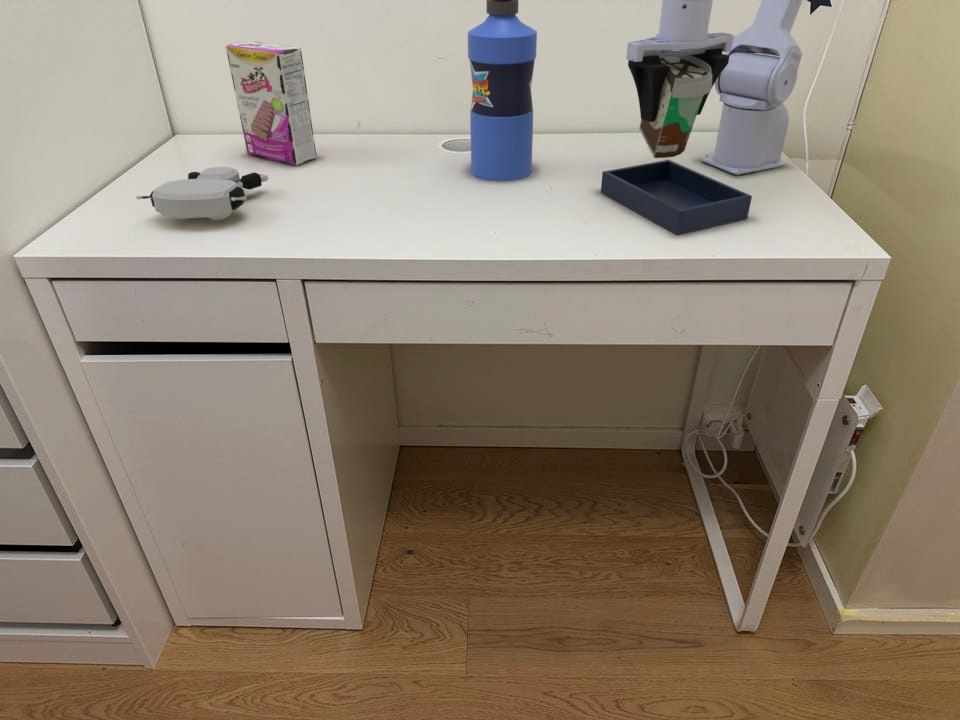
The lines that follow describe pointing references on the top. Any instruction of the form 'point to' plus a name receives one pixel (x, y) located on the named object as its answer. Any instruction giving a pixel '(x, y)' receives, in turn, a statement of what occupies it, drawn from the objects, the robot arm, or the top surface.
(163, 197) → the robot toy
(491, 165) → the water bottle
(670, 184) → the rectangular tray
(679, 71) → the food container
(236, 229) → the top surface
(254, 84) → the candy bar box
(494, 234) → the top surface
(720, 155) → the robot arm
